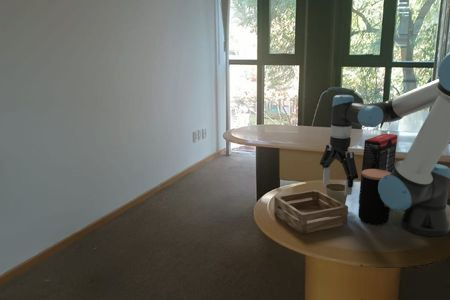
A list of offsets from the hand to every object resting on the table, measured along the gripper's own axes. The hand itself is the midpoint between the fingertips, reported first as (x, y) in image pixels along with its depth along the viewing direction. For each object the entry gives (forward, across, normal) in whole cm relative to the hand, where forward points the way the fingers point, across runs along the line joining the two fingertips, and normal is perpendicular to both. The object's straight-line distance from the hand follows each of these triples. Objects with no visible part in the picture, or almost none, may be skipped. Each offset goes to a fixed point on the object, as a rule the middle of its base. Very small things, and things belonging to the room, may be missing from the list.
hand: (336, 188), depth 155 cm
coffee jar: (+8, -16, -5) cm, 18 cm away
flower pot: (+8, -1, 0) cm, 8 cm away
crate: (+8, -6, +16) cm, 19 cm away
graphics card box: (+8, -2, -19) cm, 21 cm away
